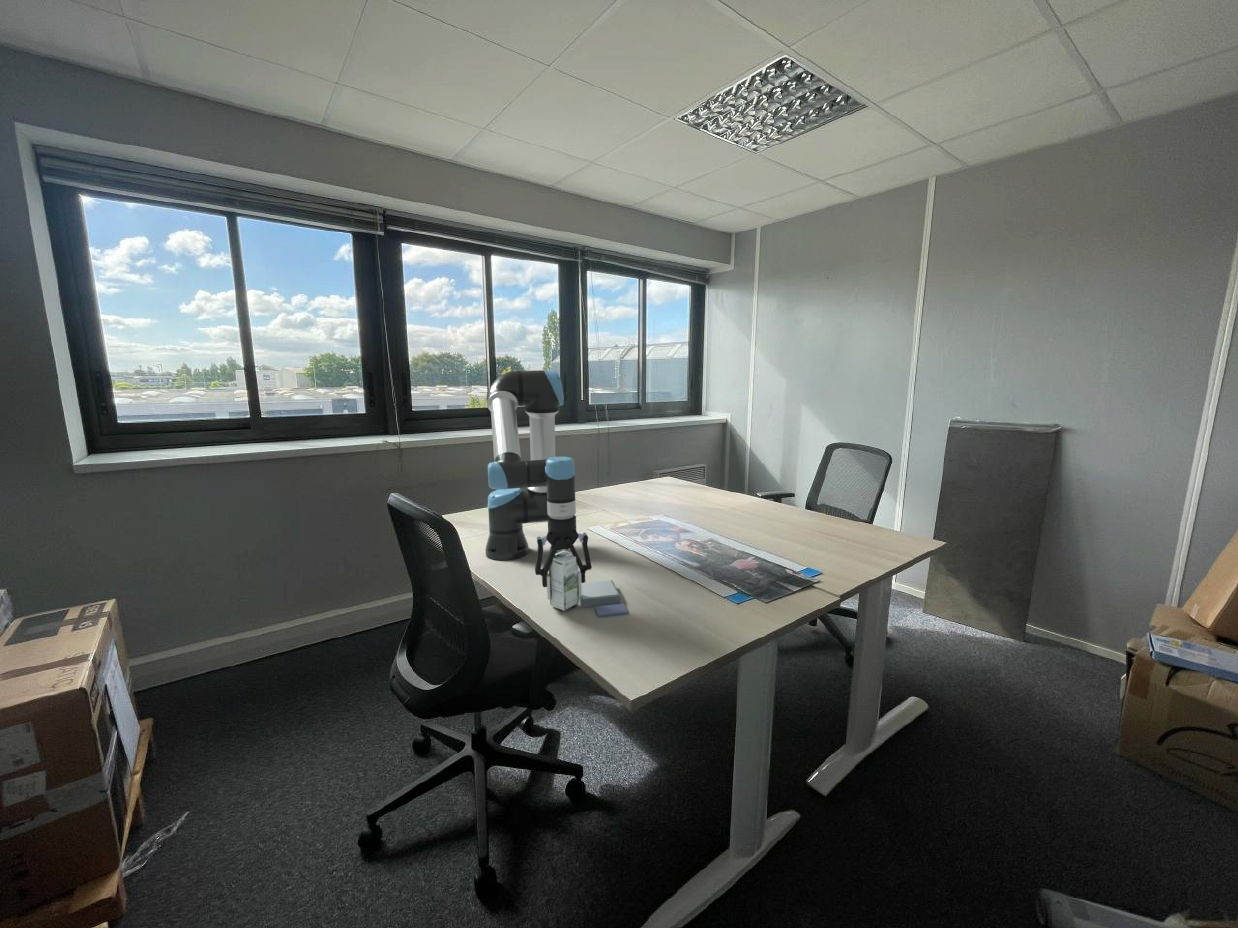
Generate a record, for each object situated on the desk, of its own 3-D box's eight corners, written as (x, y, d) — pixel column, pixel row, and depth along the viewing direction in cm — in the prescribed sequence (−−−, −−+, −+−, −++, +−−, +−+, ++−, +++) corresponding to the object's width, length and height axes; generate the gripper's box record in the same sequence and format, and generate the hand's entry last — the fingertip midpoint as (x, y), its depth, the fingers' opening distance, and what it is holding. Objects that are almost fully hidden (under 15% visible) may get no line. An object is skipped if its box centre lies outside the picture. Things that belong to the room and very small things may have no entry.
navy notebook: (595, 610, 132) (595, 606, 132) (623, 607, 134) (623, 603, 134) (598, 619, 127) (598, 615, 127) (628, 615, 129) (628, 611, 129)
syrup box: (564, 597, 137) (562, 549, 134) (579, 603, 134) (577, 554, 131) (549, 605, 133) (547, 555, 130) (564, 611, 129) (562, 560, 126)
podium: (575, 590, 143) (575, 582, 143) (612, 586, 146) (612, 578, 145) (581, 607, 133) (581, 599, 132) (620, 603, 135) (620, 594, 135)
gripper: (522, 522, 123) (526, 606, 127) (602, 516, 127) (603, 597, 131) (521, 514, 130) (525, 593, 134) (597, 508, 134) (598, 585, 139)
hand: (564, 595), depth 133 cm, fingers closed on syrup box, 8 cm apart
